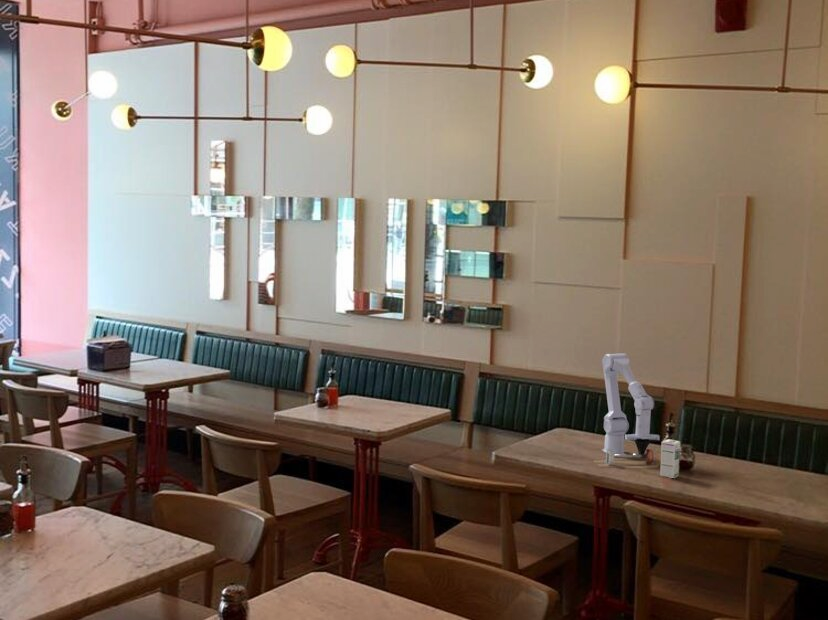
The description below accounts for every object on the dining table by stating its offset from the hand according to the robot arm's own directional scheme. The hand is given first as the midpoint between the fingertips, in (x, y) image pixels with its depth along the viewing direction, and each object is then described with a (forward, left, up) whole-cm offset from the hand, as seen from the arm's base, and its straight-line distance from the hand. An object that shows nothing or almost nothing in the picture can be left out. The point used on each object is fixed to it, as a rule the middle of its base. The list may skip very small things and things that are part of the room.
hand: (641, 456), depth 400 cm
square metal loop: (+2, -15, -2) cm, 15 cm away
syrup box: (+19, +4, -3) cm, 20 cm away
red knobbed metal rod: (+3, -5, -2) cm, 6 cm away
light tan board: (+2, -8, -3) cm, 8 cm away
